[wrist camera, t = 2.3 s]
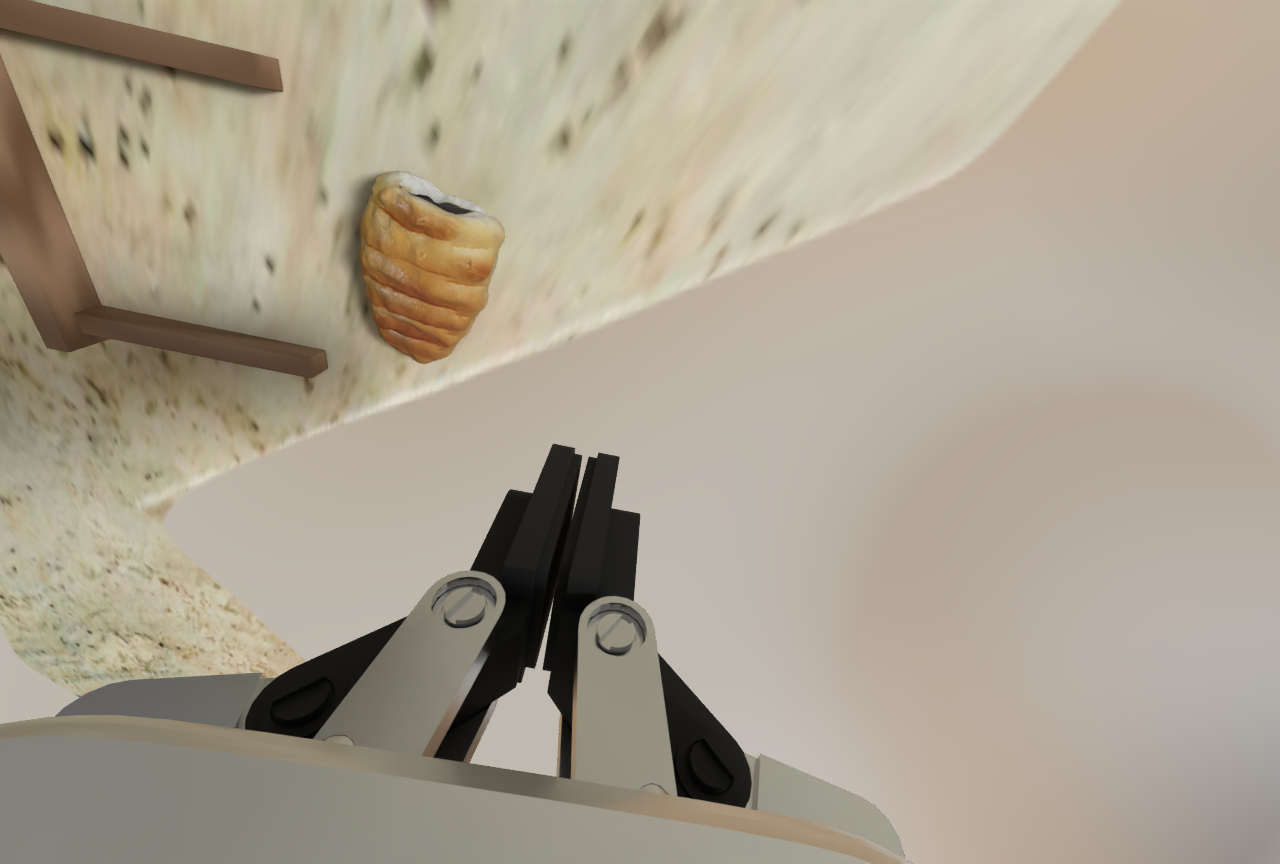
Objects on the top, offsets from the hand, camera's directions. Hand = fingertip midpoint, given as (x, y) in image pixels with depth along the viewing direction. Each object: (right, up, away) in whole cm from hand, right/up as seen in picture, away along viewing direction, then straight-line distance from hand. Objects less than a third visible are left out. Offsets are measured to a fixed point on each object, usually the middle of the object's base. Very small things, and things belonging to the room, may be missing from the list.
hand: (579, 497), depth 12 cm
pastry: (-9, +11, +14) cm, 20 cm away
